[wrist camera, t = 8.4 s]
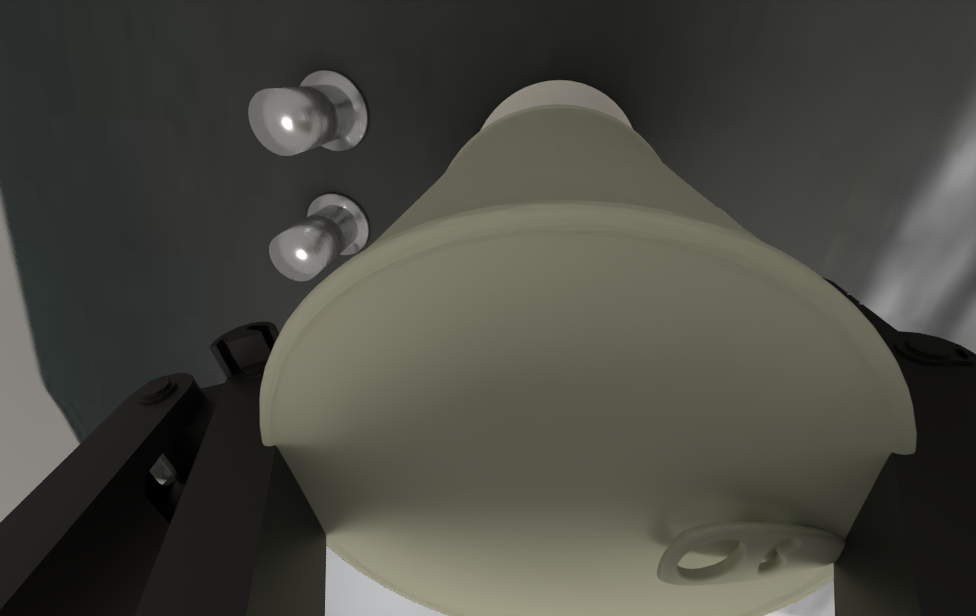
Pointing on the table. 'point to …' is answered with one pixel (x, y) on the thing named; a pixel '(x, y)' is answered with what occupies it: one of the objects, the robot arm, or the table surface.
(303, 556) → the robot arm
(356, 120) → the posts
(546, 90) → the beige flat disc
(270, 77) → the table surface
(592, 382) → the can
